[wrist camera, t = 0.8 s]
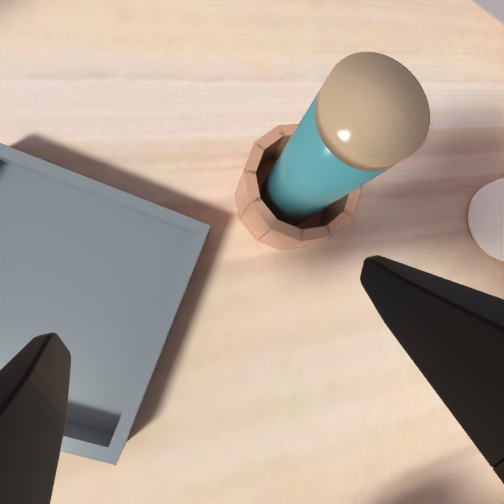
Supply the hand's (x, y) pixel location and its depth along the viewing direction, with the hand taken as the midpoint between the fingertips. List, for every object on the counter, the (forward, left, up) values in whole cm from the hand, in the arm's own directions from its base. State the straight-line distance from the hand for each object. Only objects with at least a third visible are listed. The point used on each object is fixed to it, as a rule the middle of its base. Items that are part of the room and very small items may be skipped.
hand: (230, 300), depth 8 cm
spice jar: (-3, -9, -13) cm, 16 cm away
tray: (+10, +4, -14) cm, 17 cm away
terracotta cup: (-3, -9, -14) cm, 17 cm away
